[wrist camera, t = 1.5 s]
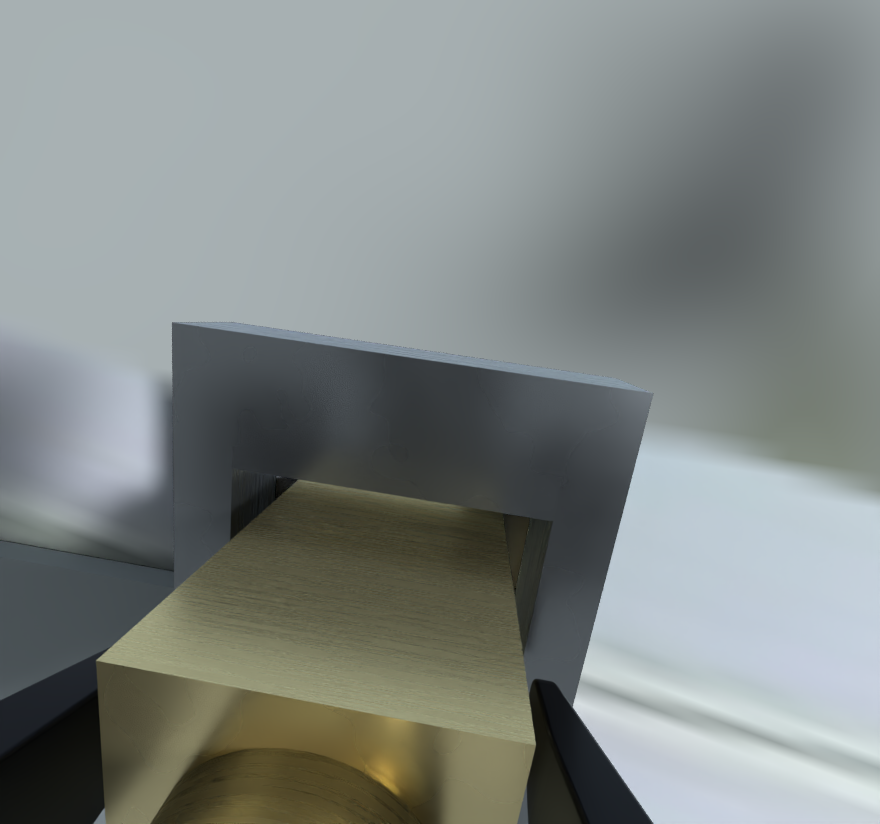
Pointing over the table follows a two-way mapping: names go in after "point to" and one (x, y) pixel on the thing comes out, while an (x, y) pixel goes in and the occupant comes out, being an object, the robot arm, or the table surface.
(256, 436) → the rectangular frame with openings
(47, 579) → the mat
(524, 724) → the brass cube with knob
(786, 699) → the table surface
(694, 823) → the table surface
